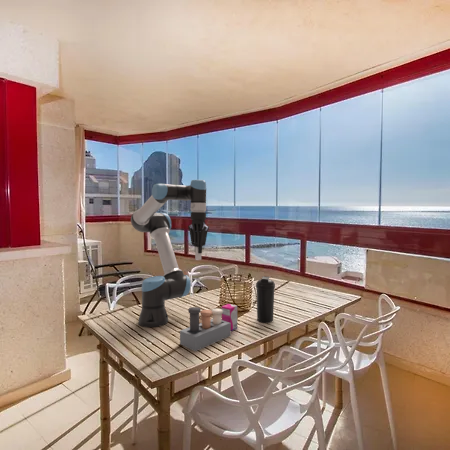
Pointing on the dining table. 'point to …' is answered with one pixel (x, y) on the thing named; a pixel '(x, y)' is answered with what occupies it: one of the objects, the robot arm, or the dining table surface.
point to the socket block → (204, 335)
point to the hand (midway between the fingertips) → (198, 259)
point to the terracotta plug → (206, 319)
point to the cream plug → (217, 316)
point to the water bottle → (265, 299)
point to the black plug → (194, 318)
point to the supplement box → (230, 315)
